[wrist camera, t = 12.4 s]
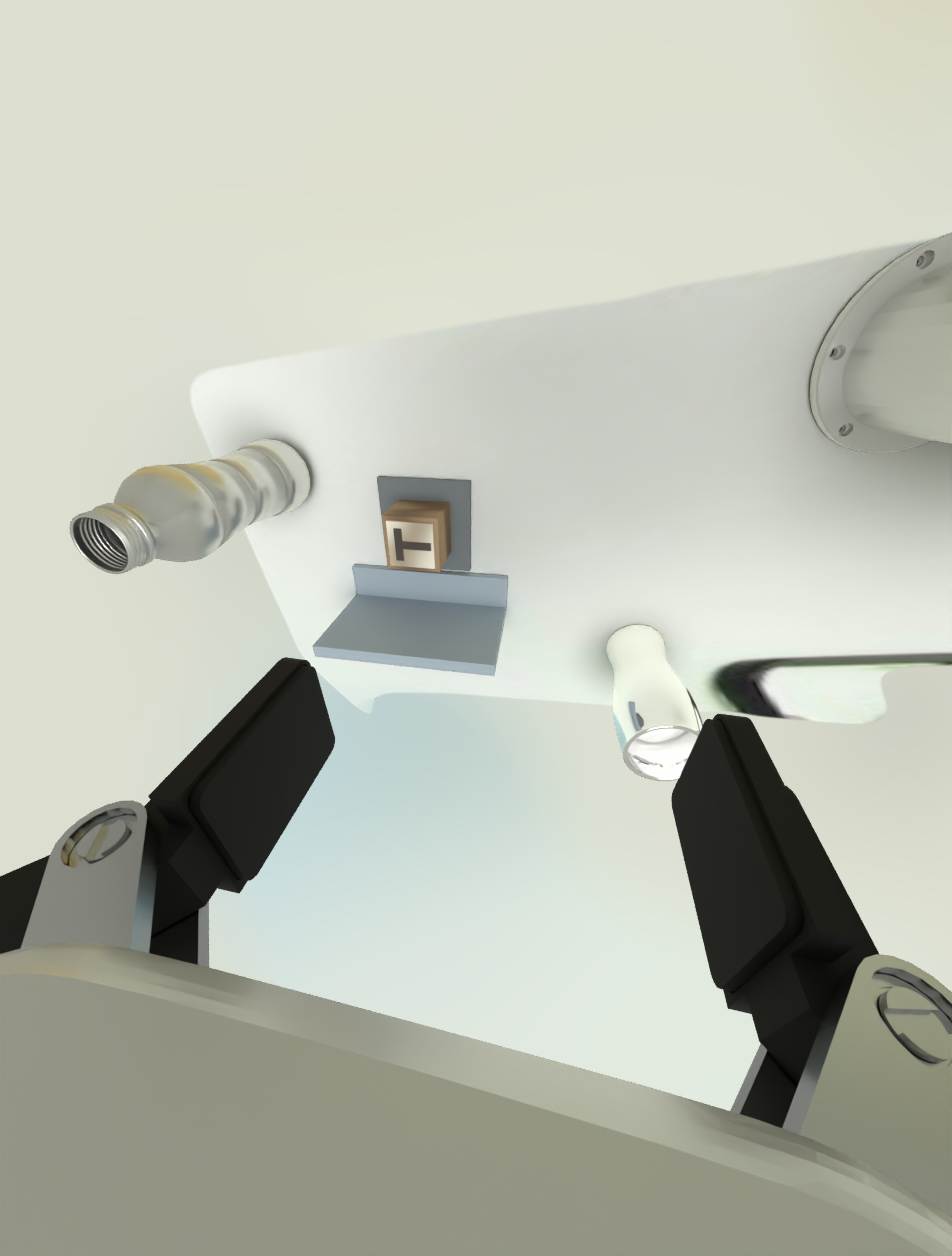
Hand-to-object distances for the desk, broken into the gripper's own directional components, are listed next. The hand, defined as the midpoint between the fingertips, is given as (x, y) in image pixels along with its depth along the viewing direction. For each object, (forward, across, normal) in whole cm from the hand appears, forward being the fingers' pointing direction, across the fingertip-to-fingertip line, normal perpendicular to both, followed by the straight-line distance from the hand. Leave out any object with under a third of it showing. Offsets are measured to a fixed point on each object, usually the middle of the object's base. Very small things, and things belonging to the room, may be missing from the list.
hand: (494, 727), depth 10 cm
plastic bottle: (+31, +25, +2) cm, 40 cm away
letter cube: (+31, +11, +6) cm, 33 cm away
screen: (+31, +11, +14) cm, 36 cm away
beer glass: (+32, -11, +19) cm, 39 cm away
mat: (+31, +12, +6) cm, 34 cm away
